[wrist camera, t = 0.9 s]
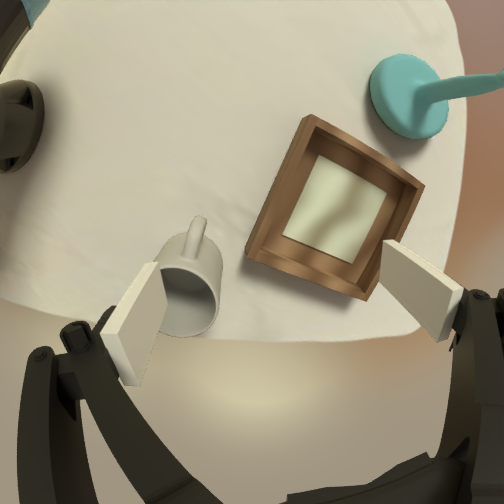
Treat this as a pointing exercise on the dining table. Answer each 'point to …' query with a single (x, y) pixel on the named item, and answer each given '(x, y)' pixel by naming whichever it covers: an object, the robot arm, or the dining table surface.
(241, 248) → the dining table surface
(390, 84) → the teal branch stand
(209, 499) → the robot arm
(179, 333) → the mug
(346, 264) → the walnut box
